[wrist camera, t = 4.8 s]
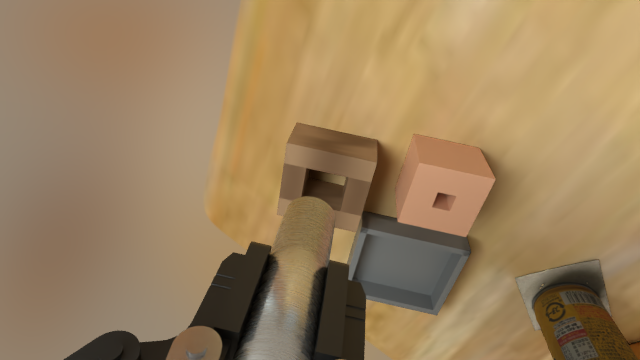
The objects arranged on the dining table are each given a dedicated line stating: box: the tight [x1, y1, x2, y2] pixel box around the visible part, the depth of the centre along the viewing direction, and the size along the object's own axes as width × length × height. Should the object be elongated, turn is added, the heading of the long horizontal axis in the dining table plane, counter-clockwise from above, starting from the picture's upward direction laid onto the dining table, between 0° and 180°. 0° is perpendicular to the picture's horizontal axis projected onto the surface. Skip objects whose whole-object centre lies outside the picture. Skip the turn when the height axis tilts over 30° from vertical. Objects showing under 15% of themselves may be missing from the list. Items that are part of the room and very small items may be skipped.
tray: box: [347, 211, 471, 315], centre depth 36 cm, size 10×9×2 cm
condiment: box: [515, 260, 638, 360], centre depth 32 cm, size 7×8×12 cm
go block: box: [277, 123, 377, 232], centre depth 31 cm, size 7×7×4 cm
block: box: [395, 134, 496, 237], centre depth 30 cm, size 6×6×5 cm
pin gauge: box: [232, 196, 335, 360], centre depth 12 cm, size 2×2×10 cm
